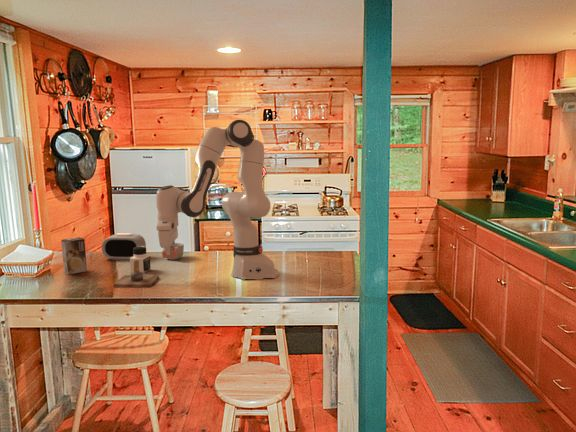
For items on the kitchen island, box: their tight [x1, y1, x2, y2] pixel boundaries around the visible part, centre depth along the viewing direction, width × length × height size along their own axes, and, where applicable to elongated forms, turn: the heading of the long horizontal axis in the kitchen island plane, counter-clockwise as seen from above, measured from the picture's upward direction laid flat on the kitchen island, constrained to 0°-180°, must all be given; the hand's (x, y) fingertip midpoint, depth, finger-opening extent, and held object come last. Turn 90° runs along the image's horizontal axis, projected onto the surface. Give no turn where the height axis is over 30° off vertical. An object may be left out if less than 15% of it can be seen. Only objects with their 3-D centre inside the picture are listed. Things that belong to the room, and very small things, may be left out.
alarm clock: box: [101, 232, 147, 261], centre depth 267 cm, size 21×10×13 cm, turn 88°
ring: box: [161, 248, 178, 259], centre depth 226 cm, size 6×6×3 cm
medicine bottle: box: [129, 246, 152, 274], centre depth 243 cm, size 7×7×12 cm
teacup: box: [162, 242, 185, 261], centre depth 266 cm, size 14×11×8 cm
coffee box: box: [61, 236, 88, 275], centre depth 241 cm, size 9×6×16 cm
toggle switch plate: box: [113, 260, 160, 288], centre depth 225 cm, size 16×14×10 cm
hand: (170, 252), depth 226 cm, fingers closed on ring, 6 cm apart
